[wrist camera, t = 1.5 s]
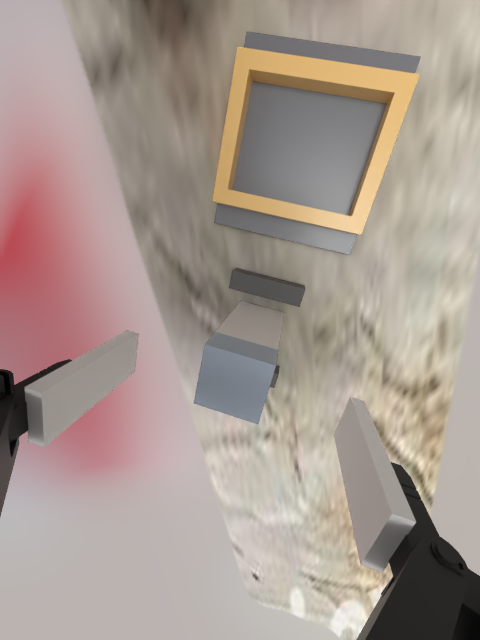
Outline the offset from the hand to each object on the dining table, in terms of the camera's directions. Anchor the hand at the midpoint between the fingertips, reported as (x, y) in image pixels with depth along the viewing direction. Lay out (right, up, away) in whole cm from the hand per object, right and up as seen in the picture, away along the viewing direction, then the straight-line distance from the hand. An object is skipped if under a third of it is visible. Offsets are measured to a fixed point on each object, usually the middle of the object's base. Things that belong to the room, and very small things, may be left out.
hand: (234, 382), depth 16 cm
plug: (+2, +3, +8) cm, 9 cm away
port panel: (+5, +16, +3) cm, 17 cm away
